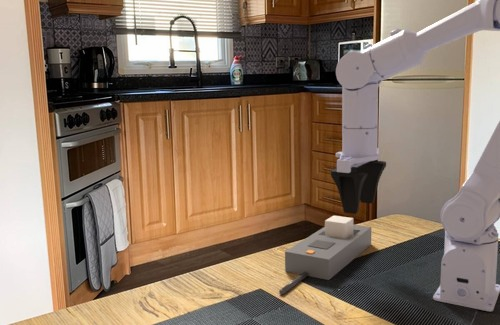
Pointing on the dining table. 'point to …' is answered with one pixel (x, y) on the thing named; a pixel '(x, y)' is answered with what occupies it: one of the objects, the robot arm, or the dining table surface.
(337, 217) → the plug
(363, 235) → the power strip
